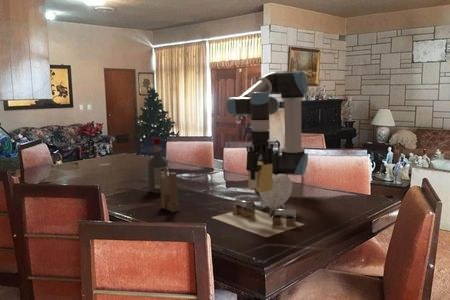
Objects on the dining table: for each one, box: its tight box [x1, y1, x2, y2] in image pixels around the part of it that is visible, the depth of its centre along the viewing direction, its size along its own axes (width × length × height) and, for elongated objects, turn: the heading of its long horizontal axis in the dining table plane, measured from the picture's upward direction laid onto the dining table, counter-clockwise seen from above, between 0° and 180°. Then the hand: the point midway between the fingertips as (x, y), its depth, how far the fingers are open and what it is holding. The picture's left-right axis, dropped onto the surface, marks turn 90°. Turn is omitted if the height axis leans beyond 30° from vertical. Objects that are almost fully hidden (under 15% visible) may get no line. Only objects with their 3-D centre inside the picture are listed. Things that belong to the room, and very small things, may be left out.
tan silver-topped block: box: [232, 198, 256, 218], centre depth 174 cm, size 9×5×7 cm, turn 40°
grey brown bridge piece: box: [268, 207, 297, 227], centre depth 160 cm, size 10×5×7 cm, turn 75°
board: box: [210, 209, 305, 238], centre depth 166 cm, size 22×33×1 cm, turn 40°
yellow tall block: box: [247, 161, 272, 192], centre depth 164 cm, size 8×6×11 cm
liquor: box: [147, 137, 169, 194], centre depth 222 cm, size 9×9×30 cm
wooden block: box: [160, 172, 180, 213], centre depth 186 cm, size 4×11×18 cm, turn 39°
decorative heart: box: [258, 173, 293, 209], centre depth 184 cm, size 18×11×17 cm, turn 48°
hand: (260, 185), depth 165 cm, fingers closed on yellow tall block, 6 cm apart
